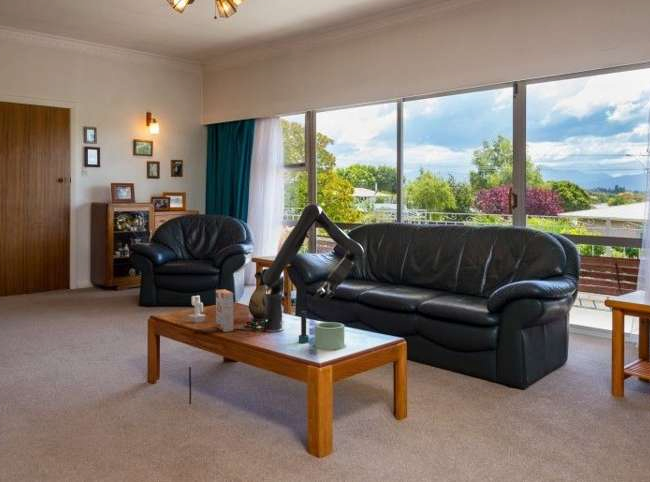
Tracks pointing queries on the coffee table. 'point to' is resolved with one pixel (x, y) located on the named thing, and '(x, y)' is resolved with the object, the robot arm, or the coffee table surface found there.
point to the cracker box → (224, 310)
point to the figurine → (197, 310)
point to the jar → (329, 335)
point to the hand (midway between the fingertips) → (319, 299)
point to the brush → (303, 329)
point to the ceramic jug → (258, 298)
